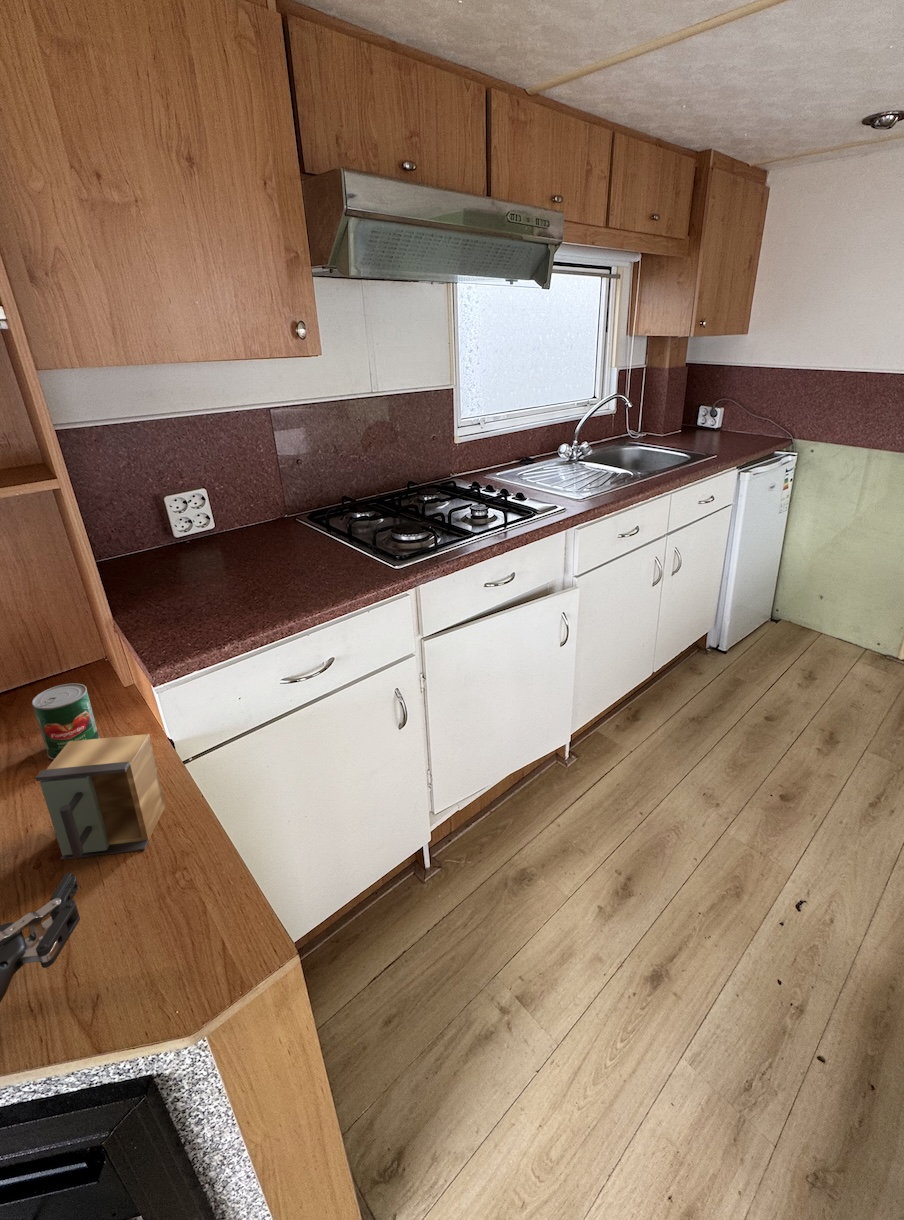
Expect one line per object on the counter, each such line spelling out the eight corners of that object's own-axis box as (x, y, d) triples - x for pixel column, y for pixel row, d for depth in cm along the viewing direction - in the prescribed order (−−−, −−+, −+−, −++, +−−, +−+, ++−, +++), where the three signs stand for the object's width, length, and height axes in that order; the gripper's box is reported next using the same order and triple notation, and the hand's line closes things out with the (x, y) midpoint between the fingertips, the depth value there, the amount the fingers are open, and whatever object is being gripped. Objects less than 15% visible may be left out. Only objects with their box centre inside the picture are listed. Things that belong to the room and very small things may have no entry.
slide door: (46, 881, 79) (21, 805, 74) (64, 853, 83) (41, 780, 79) (93, 875, 80) (71, 800, 75) (108, 847, 84) (88, 775, 80)
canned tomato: (83, 728, 111) (70, 678, 107) (109, 740, 108) (96, 689, 104) (37, 752, 104) (21, 700, 100) (63, 766, 101) (48, 712, 97)
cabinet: (60, 860, 83) (35, 777, 78) (89, 815, 91) (67, 737, 86) (144, 850, 85) (124, 768, 80) (165, 806, 93) (148, 730, 88)
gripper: (9, 990, 54) (91, 851, 69) (-171, 1019, 52) (-46, 867, 67) (29, 1043, 57) (104, 897, 72) (-142, 1072, 54) (-27, 915, 69)
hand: (32, 883), depth 69 cm, fingers open, 8 cm apart
